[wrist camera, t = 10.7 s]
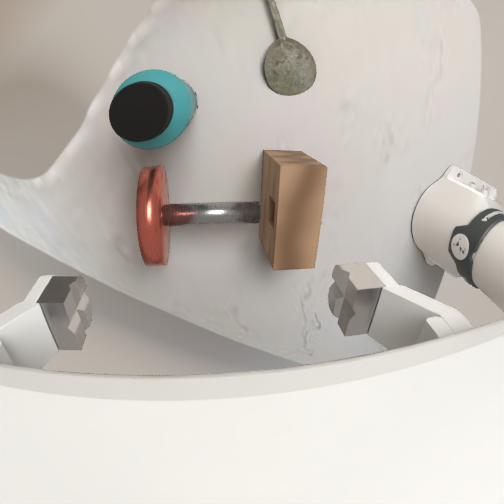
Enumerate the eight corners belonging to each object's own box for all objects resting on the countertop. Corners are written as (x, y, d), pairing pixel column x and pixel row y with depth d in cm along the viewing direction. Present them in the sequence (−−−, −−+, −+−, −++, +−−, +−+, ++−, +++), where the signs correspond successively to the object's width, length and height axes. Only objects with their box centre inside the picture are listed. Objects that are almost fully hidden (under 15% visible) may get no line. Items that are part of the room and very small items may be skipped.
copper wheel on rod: (252, 155, 37) (270, 177, 28) (249, 235, 43) (264, 280, 33) (150, 158, 36) (132, 181, 26) (157, 239, 41) (145, 285, 31)
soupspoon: (267, 101, 36) (314, 92, 37) (275, 102, 34) (325, 93, 34) (227, -45, 25) (276, -50, 25) (231, -55, 22) (284, -59, 22)
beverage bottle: (208, 111, 35) (213, 125, 18) (161, 140, 36) (123, 183, 18) (181, 68, 32) (159, 39, 14) (134, 98, 33) (70, 103, 15)
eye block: (301, 151, 39) (327, 167, 31) (293, 234, 45) (314, 268, 37) (263, 150, 38) (280, 165, 30) (259, 235, 44) (273, 270, 36)
